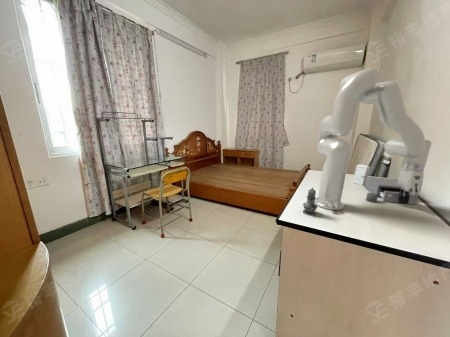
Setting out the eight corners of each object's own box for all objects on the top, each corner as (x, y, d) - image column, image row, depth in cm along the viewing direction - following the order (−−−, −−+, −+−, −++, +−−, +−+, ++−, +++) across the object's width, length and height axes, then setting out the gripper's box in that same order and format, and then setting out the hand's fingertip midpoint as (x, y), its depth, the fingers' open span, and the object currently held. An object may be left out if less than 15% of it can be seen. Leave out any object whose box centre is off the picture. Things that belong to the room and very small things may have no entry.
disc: (398, 193, 99) (399, 190, 99) (406, 198, 93) (407, 195, 92) (382, 192, 101) (383, 189, 101) (389, 197, 95) (390, 194, 94)
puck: (378, 203, 93) (379, 196, 92) (367, 201, 94) (369, 195, 93) (374, 199, 97) (375, 193, 96) (364, 198, 98) (365, 192, 97)
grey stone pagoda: (304, 208, 87) (307, 184, 84) (317, 212, 83) (321, 187, 80) (300, 213, 82) (303, 187, 79) (314, 217, 79) (318, 191, 76)
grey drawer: (415, 204, 90) (418, 195, 89) (383, 201, 94) (385, 191, 93) (397, 193, 105) (400, 184, 104) (370, 190, 109) (372, 182, 108)
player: (411, 201, 95) (415, 188, 93) (375, 197, 100) (378, 185, 98) (394, 190, 110) (397, 179, 108) (364, 187, 114) (366, 176, 113)
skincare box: (352, 182, 123) (356, 165, 119) (356, 181, 125) (359, 164, 122) (362, 185, 117) (366, 167, 114) (366, 184, 119) (370, 166, 116)
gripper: (435, 171, 77) (422, 211, 82) (412, 163, 91) (403, 198, 96) (412, 169, 79) (401, 208, 84) (394, 162, 93) (385, 196, 98)
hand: (402, 203), depth 90 cm, fingers closed
